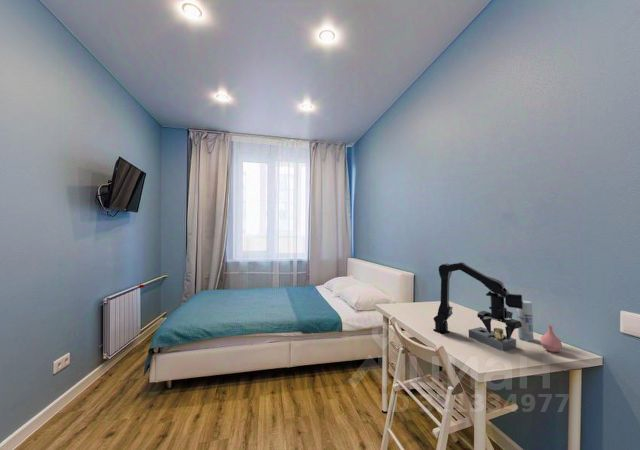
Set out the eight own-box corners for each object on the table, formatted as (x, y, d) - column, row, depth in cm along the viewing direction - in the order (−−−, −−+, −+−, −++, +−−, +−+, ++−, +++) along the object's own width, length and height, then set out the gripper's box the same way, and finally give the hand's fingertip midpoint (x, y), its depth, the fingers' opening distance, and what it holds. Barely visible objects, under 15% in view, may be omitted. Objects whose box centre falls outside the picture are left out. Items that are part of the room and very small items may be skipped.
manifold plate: (503, 351, 120) (502, 342, 120) (468, 337, 136) (468, 329, 137) (516, 347, 123) (515, 339, 124) (481, 334, 140) (481, 326, 140)
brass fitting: (500, 347, 124) (500, 331, 124) (492, 344, 127) (491, 328, 128) (505, 346, 125) (505, 330, 125) (497, 342, 129) (497, 327, 129)
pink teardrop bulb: (549, 346, 123) (548, 322, 124) (567, 354, 116) (565, 328, 116) (536, 348, 122) (535, 323, 123) (553, 355, 115) (551, 329, 115)
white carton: (524, 335, 137) (522, 299, 137) (537, 340, 130) (535, 302, 131) (515, 337, 135) (513, 300, 136) (527, 342, 129) (525, 303, 129)
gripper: (528, 308, 121) (529, 340, 121) (489, 299, 139) (491, 327, 138) (513, 311, 117) (515, 344, 117) (476, 301, 134) (477, 330, 134)
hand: (498, 336), depth 126 cm, fingers open, 9 cm apart
